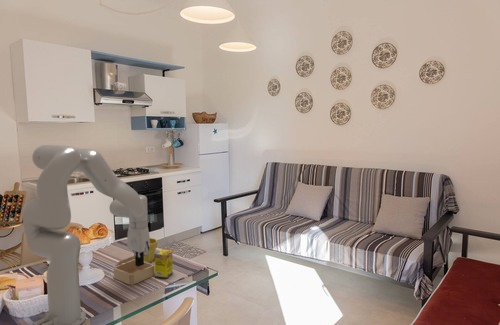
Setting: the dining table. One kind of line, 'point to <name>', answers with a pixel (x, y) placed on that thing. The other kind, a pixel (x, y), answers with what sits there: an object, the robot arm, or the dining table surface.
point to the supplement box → (163, 264)
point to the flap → (125, 260)
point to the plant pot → (151, 250)
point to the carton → (133, 272)
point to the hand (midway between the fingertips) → (139, 265)
